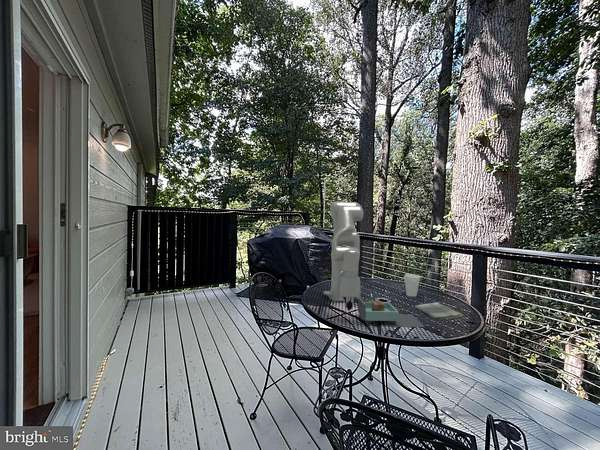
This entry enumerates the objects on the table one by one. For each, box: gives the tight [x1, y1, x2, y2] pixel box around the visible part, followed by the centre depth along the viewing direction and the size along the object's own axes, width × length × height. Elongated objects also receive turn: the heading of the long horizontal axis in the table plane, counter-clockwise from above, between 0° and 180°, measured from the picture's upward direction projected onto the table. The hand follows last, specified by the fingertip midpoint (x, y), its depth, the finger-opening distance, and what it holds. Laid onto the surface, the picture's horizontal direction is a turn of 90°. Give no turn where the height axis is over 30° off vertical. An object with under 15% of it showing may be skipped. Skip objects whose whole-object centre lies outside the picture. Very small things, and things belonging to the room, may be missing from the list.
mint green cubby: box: [357, 296, 400, 325], centre depth 152 cm, size 17×14×10 cm
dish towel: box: [414, 301, 464, 320], centre depth 167 cm, size 19×18×3 cm
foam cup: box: [404, 273, 421, 298], centre depth 197 cm, size 10×9×13 cm
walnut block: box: [371, 300, 385, 311], centre depth 152 cm, size 5×5×5 cm
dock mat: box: [384, 313, 426, 328], centre depth 153 cm, size 18×16×1 cm
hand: (349, 309), depth 152 cm, fingers closed
